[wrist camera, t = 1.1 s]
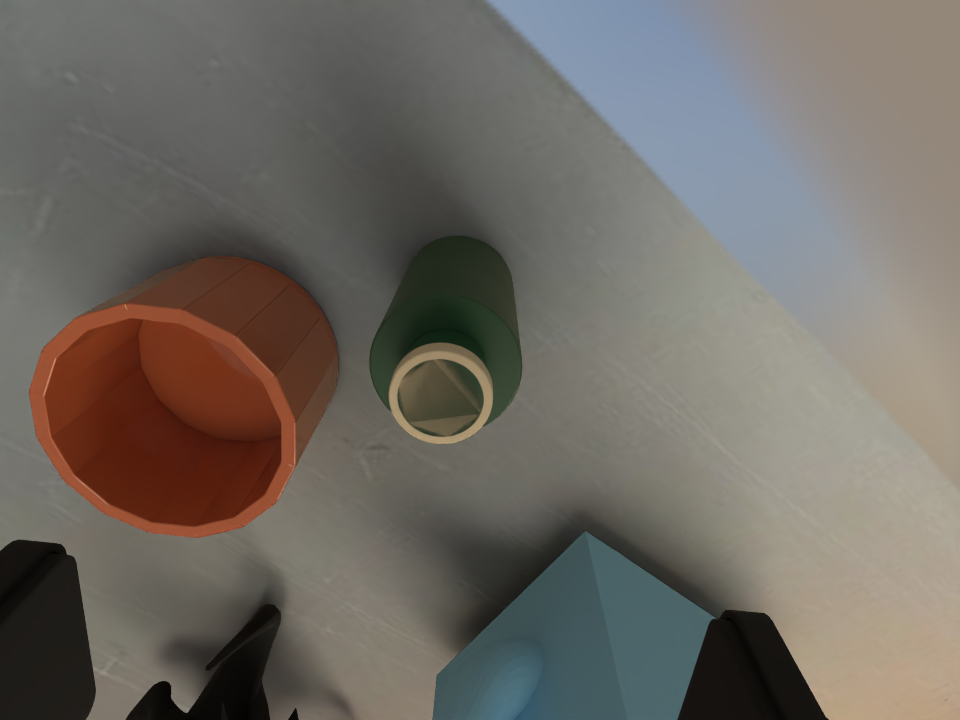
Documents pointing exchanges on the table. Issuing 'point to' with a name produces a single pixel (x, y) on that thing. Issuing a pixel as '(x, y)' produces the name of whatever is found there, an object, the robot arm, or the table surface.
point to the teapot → (579, 647)
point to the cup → (187, 395)
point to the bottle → (449, 342)
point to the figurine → (225, 679)
